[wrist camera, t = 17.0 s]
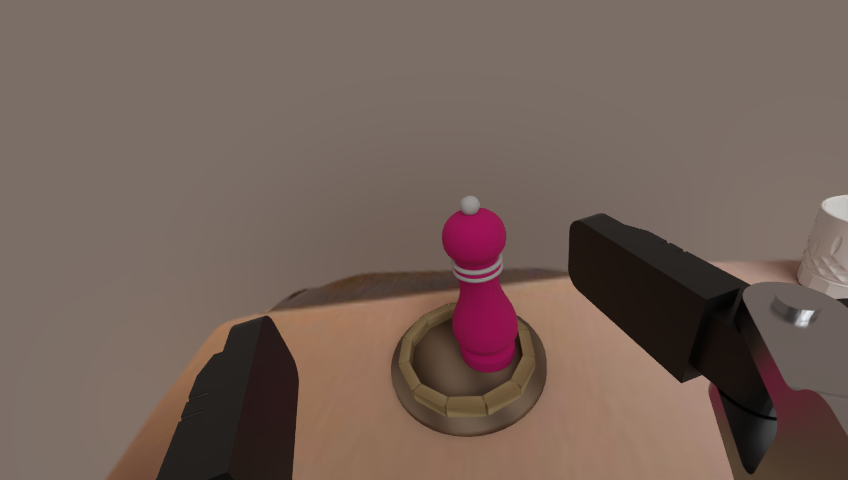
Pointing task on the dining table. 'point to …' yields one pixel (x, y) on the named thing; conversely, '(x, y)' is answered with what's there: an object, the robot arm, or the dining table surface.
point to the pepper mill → (480, 287)
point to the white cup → (827, 250)
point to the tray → (464, 379)
